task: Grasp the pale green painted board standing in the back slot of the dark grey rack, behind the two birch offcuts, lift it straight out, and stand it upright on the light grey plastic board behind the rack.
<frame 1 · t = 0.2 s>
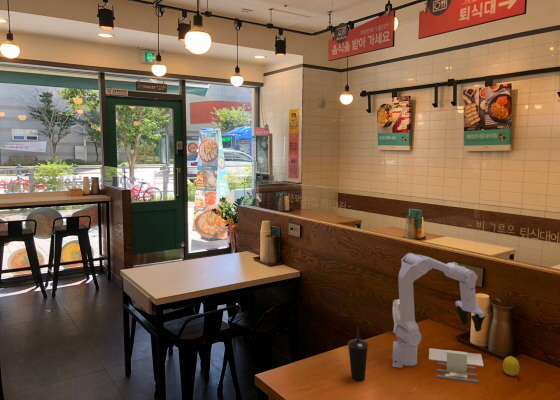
hand: (471, 327, 189), 11 cm above the table, tool pointing down, fingers open, 7 cm apart
board: (455, 360, 183), on the table
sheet: (456, 372, 172), resting on rack
offcut low: (454, 378, 168), resting on rack, touching offcut top
lemon: (510, 377, 169), on the table
rack: (456, 375, 171), on the table
offcut top: (458, 377, 167), point 1 cm above the table, touching offcut low
beer glass: (400, 333, 210), on the table
drinking cup: (358, 378, 171), on the table
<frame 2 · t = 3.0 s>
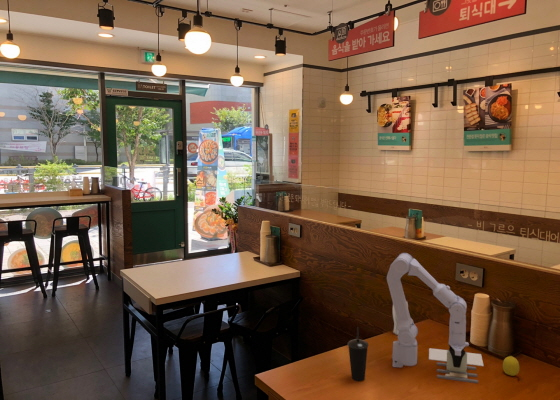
hand: (456, 365, 172), 3 cm above the table, tool pointing down, fingers closed on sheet, 2 cm apart
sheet: (456, 372, 172), resting on rack, touching gripper
everything else where it was.
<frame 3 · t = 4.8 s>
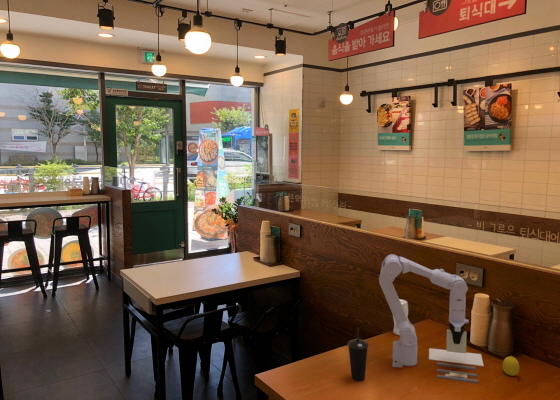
hand: (456, 342, 175), 10 cm above the table, tool pointing down, fingers closed on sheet
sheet: (456, 351, 176), point 7 cm above the table, touching gripper
everything else where it was.
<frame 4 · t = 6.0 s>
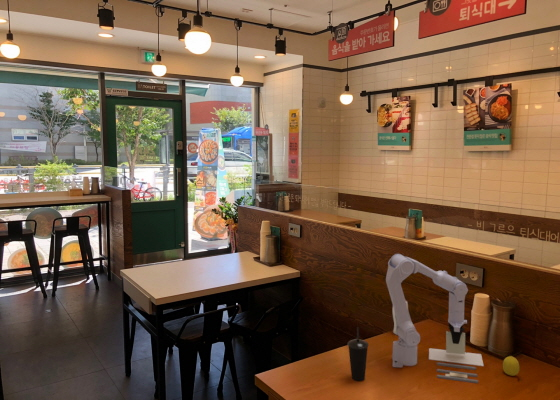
hand: (455, 342, 182), 8 cm above the table, tool pointing down, fingers closed on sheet, 2 cm apart
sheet: (455, 352, 182), point 3 cm above the table, touching gripper
everything else where it was.
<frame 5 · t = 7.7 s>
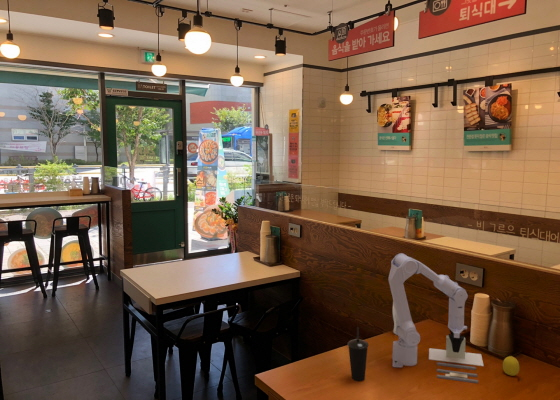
hand: (455, 347, 182), 5 cm above the table, tool pointing down, fingers open, 7 cm apart
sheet: (455, 356, 183), point 1 cm above the table, touching board
everything else where it was.
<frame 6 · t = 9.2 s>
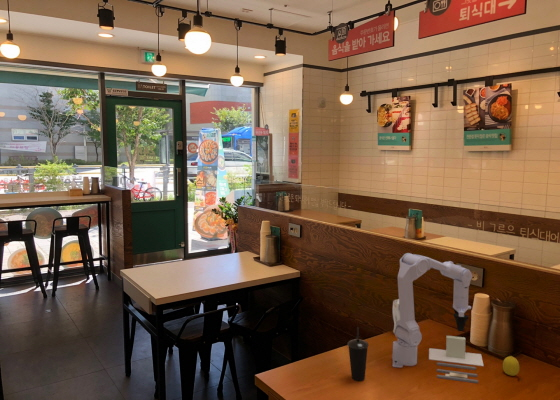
hand: (460, 327, 189), 10 cm above the table, tool pointing down, fingers open, 7 cm apart
nothing on the table moved.
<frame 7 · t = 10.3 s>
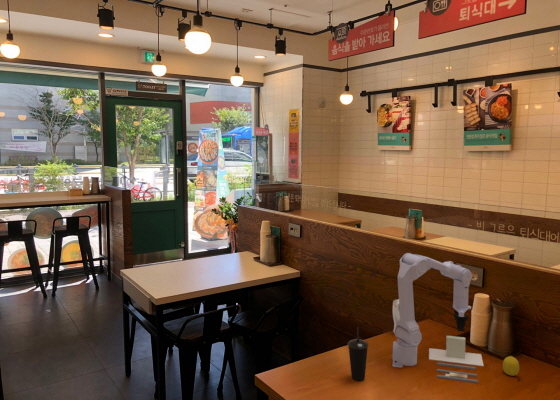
hand: (460, 327, 189), 10 cm above the table, tool pointing down, fingers open, 7 cm apart
nothing on the table moved.
at the end: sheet inside the target area (0.1 cm from its centre), point 1.5 cm above the table; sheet tilted 0°; offcut top moved 0.0 cm from its start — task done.
